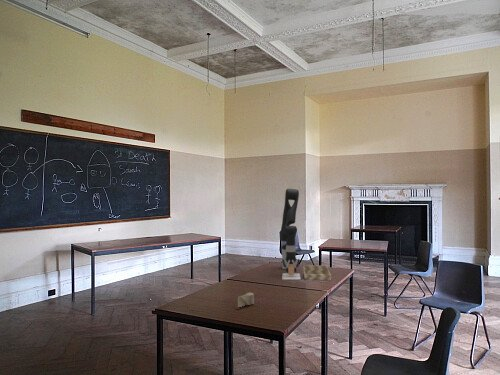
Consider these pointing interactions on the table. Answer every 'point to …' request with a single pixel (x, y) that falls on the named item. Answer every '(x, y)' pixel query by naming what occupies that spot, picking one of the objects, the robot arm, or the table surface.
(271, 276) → the table surface
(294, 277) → the grey mat
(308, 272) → the frame
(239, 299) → the model
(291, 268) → the terracotta pot
